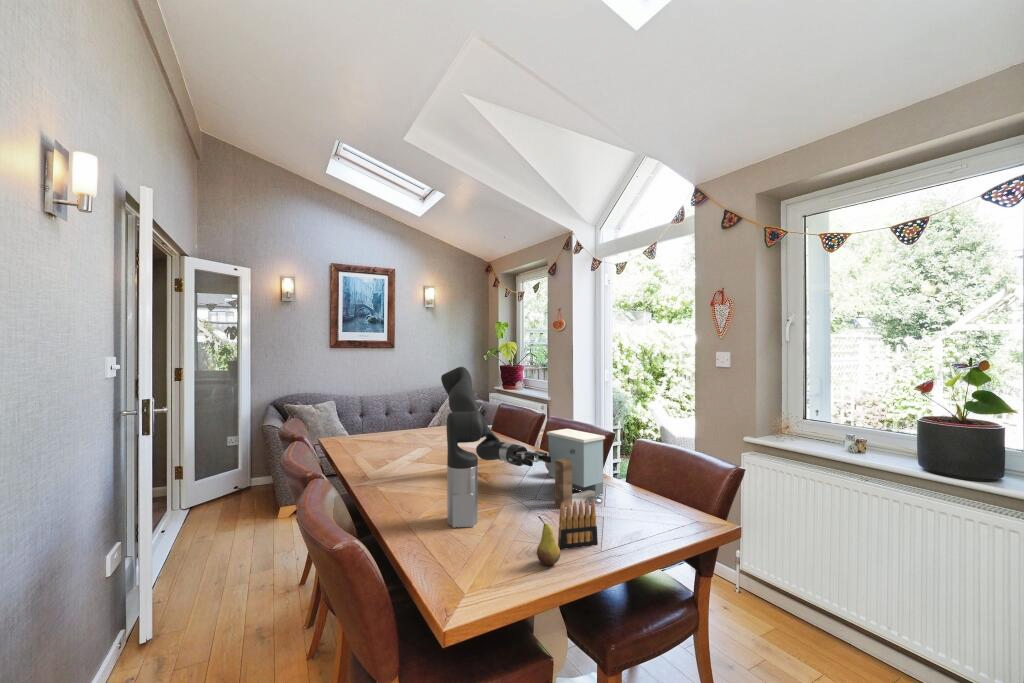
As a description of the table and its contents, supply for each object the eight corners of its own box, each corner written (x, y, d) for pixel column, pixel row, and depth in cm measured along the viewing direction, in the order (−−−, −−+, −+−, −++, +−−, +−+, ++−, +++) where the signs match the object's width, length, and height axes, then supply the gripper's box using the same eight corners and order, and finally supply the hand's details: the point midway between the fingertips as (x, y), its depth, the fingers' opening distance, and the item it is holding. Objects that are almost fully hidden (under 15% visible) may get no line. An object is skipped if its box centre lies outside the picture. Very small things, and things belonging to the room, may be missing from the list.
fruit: (558, 570, 109) (558, 519, 109) (534, 567, 111) (534, 517, 111) (562, 560, 115) (562, 511, 115) (539, 557, 116) (539, 509, 116)
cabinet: (545, 488, 173) (545, 432, 173) (567, 482, 180) (567, 428, 180) (582, 501, 158) (582, 440, 158) (605, 494, 165) (605, 436, 165)
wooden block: (555, 505, 154) (555, 460, 154) (586, 495, 164) (586, 453, 164) (563, 508, 151) (563, 462, 151) (595, 498, 161) (595, 455, 161)
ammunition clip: (595, 542, 125) (594, 497, 125) (597, 545, 123) (597, 500, 124) (557, 546, 123) (557, 501, 123) (560, 549, 121) (560, 503, 121)
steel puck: (604, 505, 155) (604, 500, 155) (590, 506, 154) (590, 501, 154) (599, 500, 160) (599, 496, 160) (585, 501, 159) (585, 496, 159)
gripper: (498, 446, 171) (525, 453, 158) (527, 441, 180) (556, 448, 167) (498, 466, 171) (525, 475, 158) (527, 461, 180) (556, 469, 167)
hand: (541, 461), depth 162 cm, fingers open, 8 cm apart
